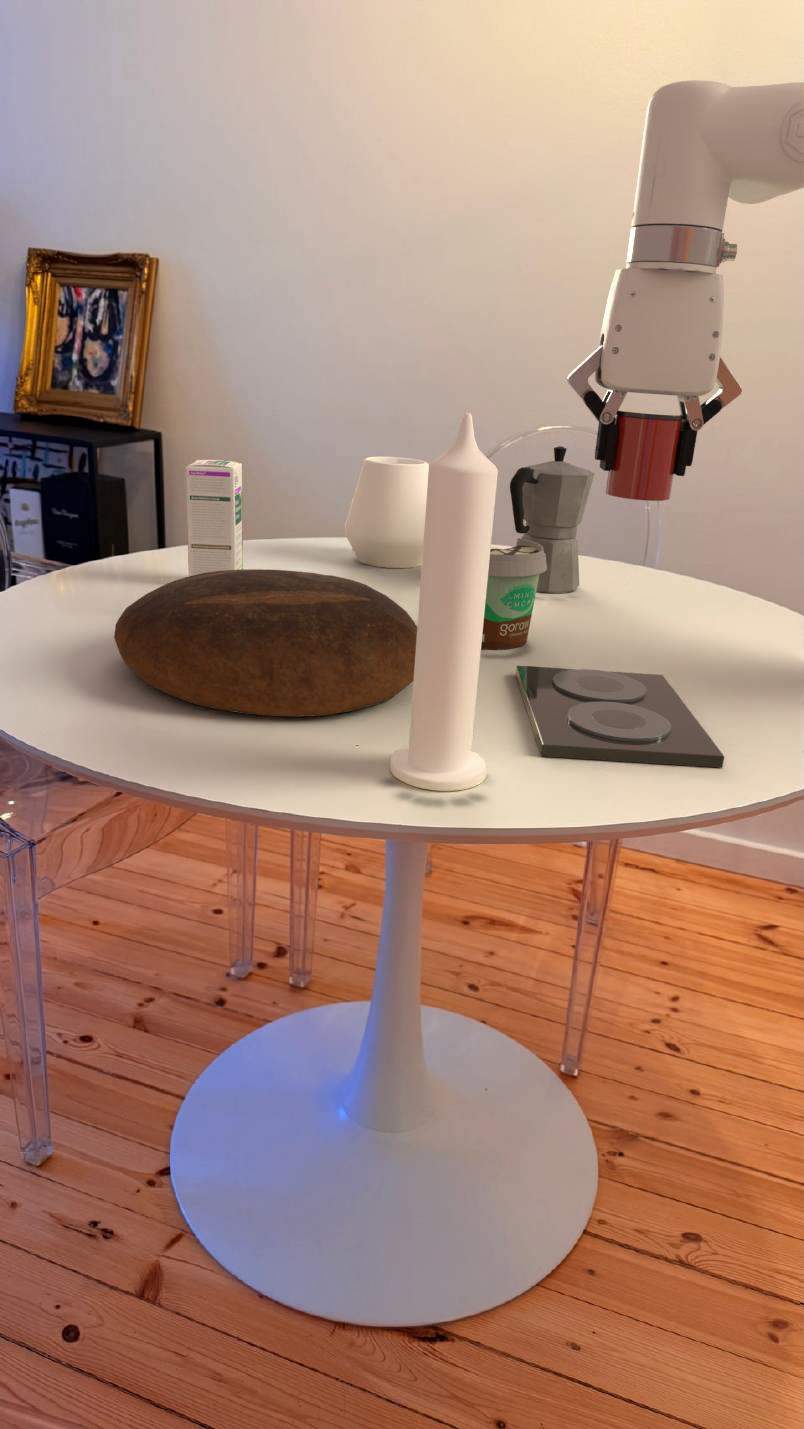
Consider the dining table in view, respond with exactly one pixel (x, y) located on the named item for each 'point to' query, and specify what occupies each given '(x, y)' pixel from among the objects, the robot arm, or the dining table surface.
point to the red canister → (644, 455)
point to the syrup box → (214, 516)
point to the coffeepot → (552, 516)
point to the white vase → (389, 512)
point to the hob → (613, 717)
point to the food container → (511, 594)
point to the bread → (270, 642)
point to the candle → (450, 620)
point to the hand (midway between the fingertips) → (641, 469)
